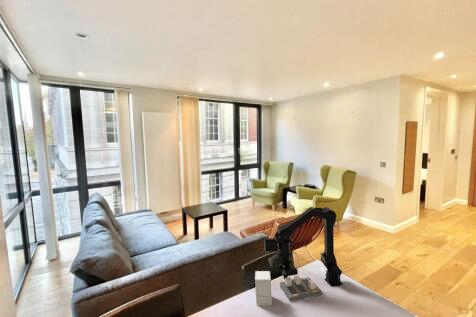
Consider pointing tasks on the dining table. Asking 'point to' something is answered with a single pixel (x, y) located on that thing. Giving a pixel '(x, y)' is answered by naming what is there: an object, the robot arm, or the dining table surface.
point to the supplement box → (263, 288)
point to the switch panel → (300, 290)
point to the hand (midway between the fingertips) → (285, 279)
